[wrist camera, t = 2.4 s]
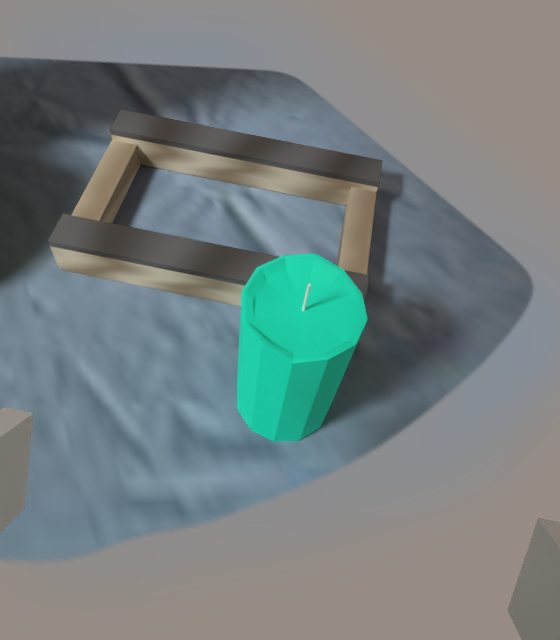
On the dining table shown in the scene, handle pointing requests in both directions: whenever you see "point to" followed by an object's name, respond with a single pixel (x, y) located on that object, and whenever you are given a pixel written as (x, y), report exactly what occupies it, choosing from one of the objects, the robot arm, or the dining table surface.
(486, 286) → the dining table surface
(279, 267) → the candle
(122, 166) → the rectangular wooden frame
